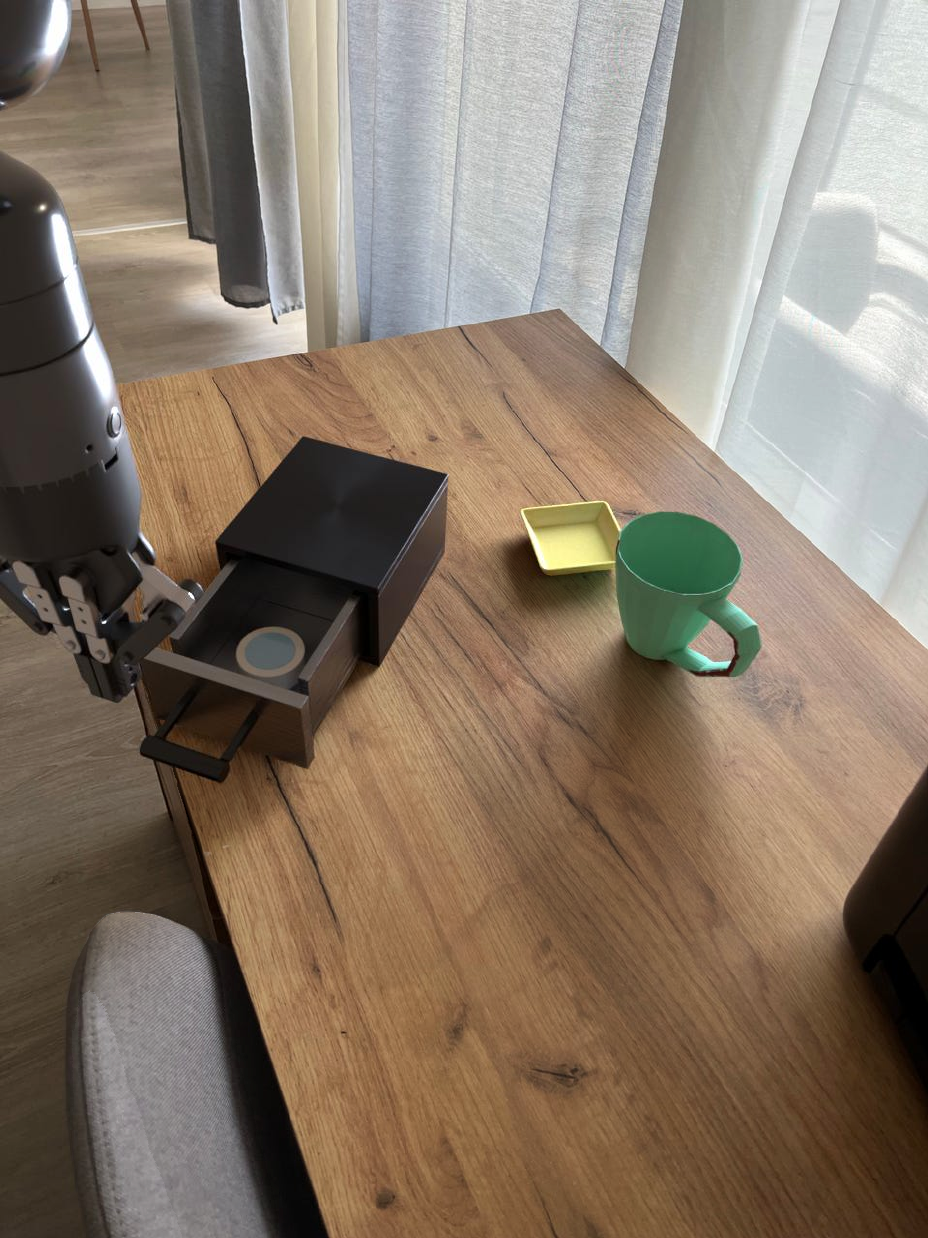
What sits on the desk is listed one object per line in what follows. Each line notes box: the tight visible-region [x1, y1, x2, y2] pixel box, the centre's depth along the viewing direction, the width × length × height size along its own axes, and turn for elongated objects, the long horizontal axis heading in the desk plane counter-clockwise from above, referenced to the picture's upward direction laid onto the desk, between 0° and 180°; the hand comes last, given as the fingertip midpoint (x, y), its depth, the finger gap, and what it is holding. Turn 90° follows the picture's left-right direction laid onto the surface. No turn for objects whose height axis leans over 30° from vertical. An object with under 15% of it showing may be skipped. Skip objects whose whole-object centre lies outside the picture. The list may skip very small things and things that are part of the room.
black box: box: [214, 435, 449, 668], centre depth 81 cm, size 15×14×9 cm
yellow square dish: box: [519, 500, 622, 577], centre depth 88 cm, size 9×9×2 cm
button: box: [236, 627, 306, 690], centre depth 73 cm, size 5×5×2 cm
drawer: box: [139, 554, 370, 784], centre depth 71 cm, size 20×12×7 cm, turn 160°
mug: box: [614, 510, 763, 678], centre depth 76 cm, size 15×10×10 cm
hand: (116, 688), depth 53 cm, fingers closed
